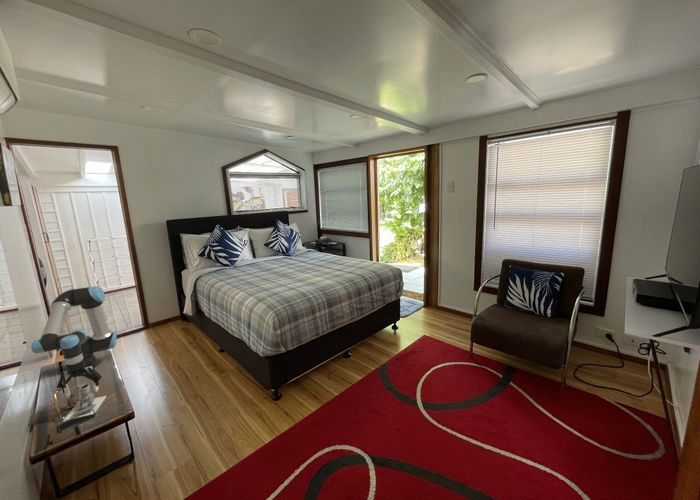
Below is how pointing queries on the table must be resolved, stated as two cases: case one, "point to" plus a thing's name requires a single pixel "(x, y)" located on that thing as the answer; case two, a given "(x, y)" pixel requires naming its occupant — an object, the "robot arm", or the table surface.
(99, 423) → the table surface
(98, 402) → the mat
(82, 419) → the phone
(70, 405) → the wire frame
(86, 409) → the camera
